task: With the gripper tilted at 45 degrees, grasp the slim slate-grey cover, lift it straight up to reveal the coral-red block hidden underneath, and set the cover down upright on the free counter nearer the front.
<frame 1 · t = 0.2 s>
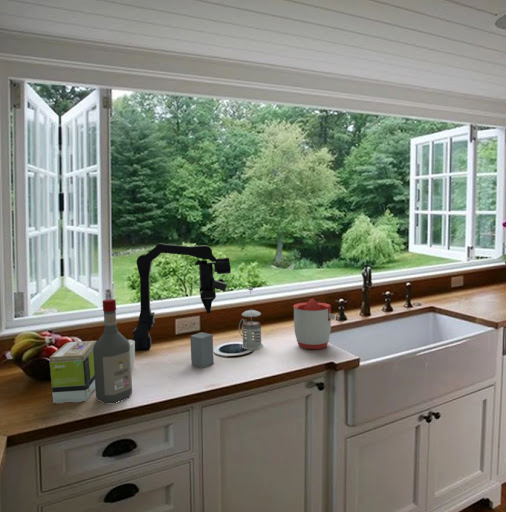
hand: (208, 311, 178), 15 cm above the worktop, tool pointing down, fingers open, 9 cm apart
french press: (250, 346, 175), on the worktop
liquor: (114, 397, 127), on the worktop
red block: (202, 359, 155), in the grey cover
citrus juicer: (314, 346, 174), on the worktop
tea box: (77, 393, 131), on the worktop
grey cover: (202, 364, 155), on the worktop
white cup: (124, 370, 151), on the worktop
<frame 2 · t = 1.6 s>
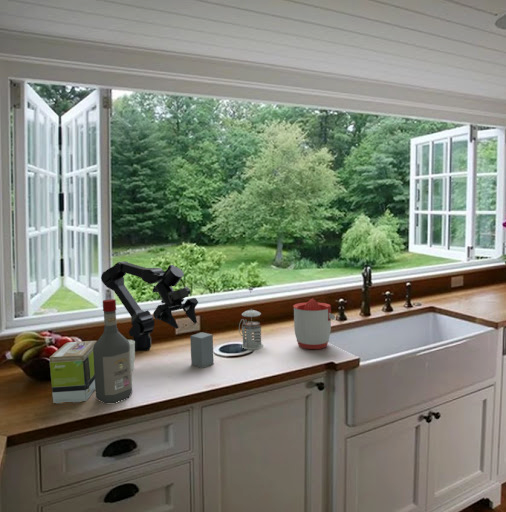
hand: (187, 325, 159), 13 cm above the worktop, tool tilted 45°, fingers open, 9 cm apart
nothing on the worktop moved.
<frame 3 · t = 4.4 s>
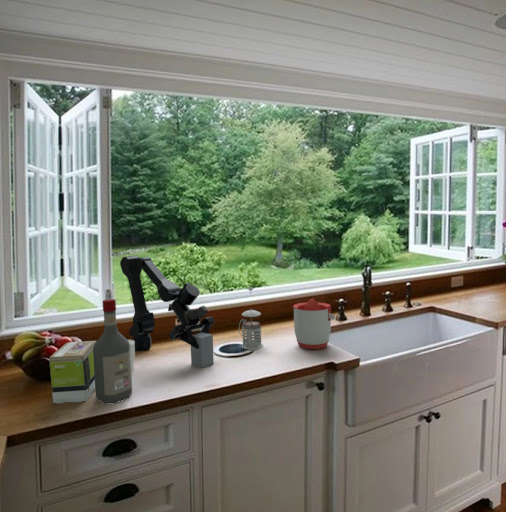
hand: (204, 346, 153), 7 cm above the worktop, tool tilted 45°, fingers closed on grey cover, 6 cm apart
grey cover: (202, 364, 155), on the worktop, touching gripper
everything else where it was.
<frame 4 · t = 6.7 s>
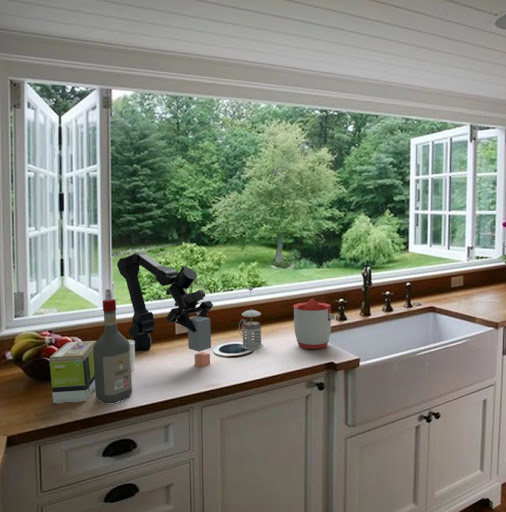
hand: (201, 329, 152), 13 cm above the worktop, tool tilted 45°, fingers closed on grey cover, 6 cm apart
grey cover: (199, 348, 153), point 6 cm above the worktop, touching gripper
everything else where it was.
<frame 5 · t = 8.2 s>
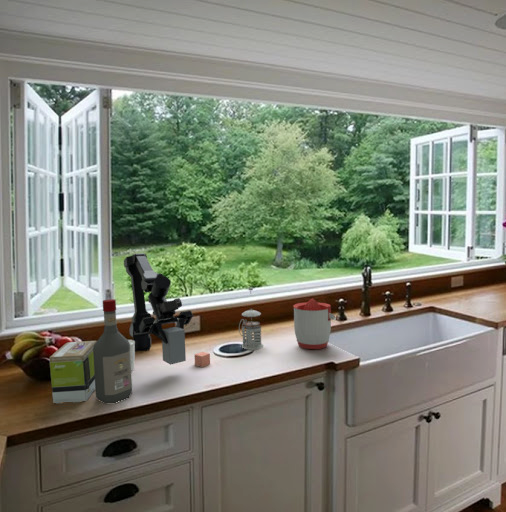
hand: (175, 341, 143), 12 cm above the worktop, tool tilted 45°, fingers closed on grey cover, 6 cm apart
grey cover: (174, 360, 145), point 5 cm above the worktop, touching gripper
everything else where it was.
when the fingers open (8 cm above the worktop, at t = 9.4 s): grey cover stays where it is, on the worktop.
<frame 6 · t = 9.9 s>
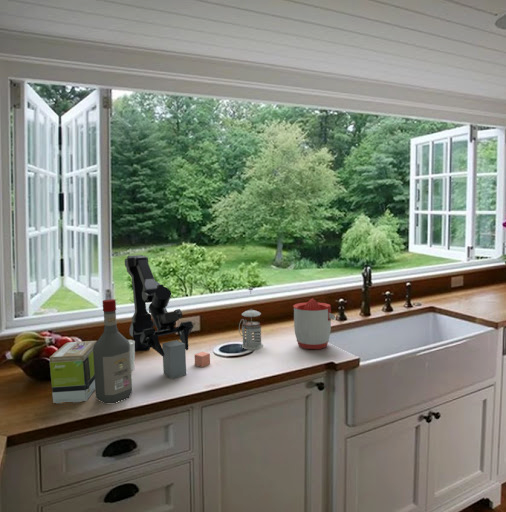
hand: (175, 352, 143), 8 cm above the worktop, tool tilted 45°, fingers open, 9 cm apart
grey cover: (174, 374, 145), on the worktop
everything else where it was.
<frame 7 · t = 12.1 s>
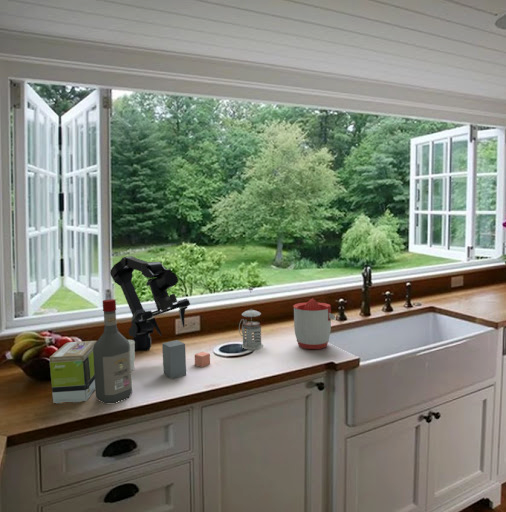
hand: (172, 331, 161), 11 cm above the worktop, tool tilted 20°, fingers open, 9 cm apart
nothing on the worktop moved.
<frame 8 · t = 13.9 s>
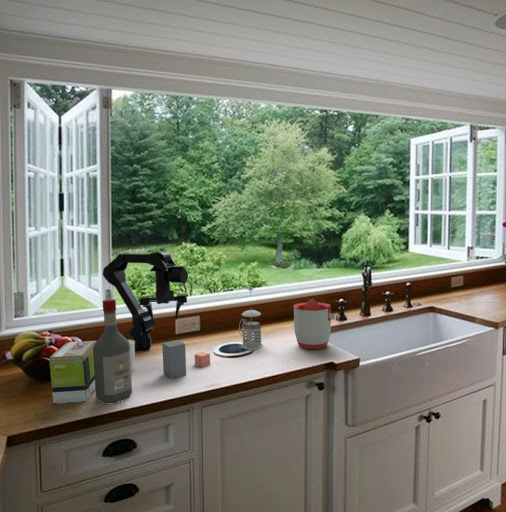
hand: (164, 320, 170), 13 cm above the worktop, tool pointing down, fingers open, 9 cm apart
nothing on the worktop moved.
at the end: grey cover inside the target area (0.0 cm from its centre), on the worktop; grey cover tilted 0°; the gripper is holding nothing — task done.
